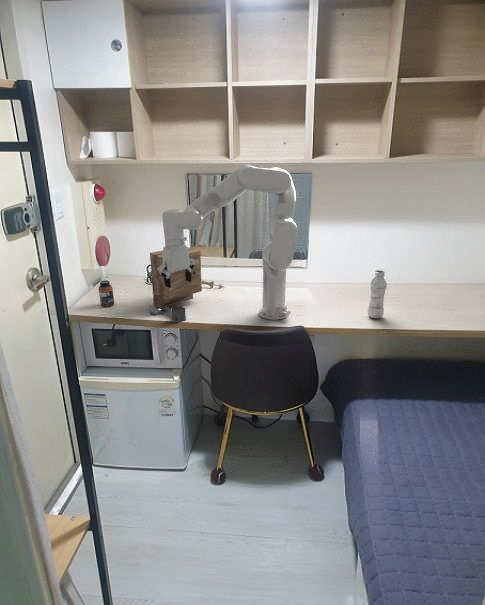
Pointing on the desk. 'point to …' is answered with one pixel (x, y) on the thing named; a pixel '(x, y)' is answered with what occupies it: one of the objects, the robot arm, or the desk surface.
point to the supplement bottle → (106, 294)
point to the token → (155, 310)
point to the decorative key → (211, 284)
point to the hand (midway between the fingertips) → (178, 284)
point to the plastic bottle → (377, 295)
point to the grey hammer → (175, 313)
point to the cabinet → (175, 280)
